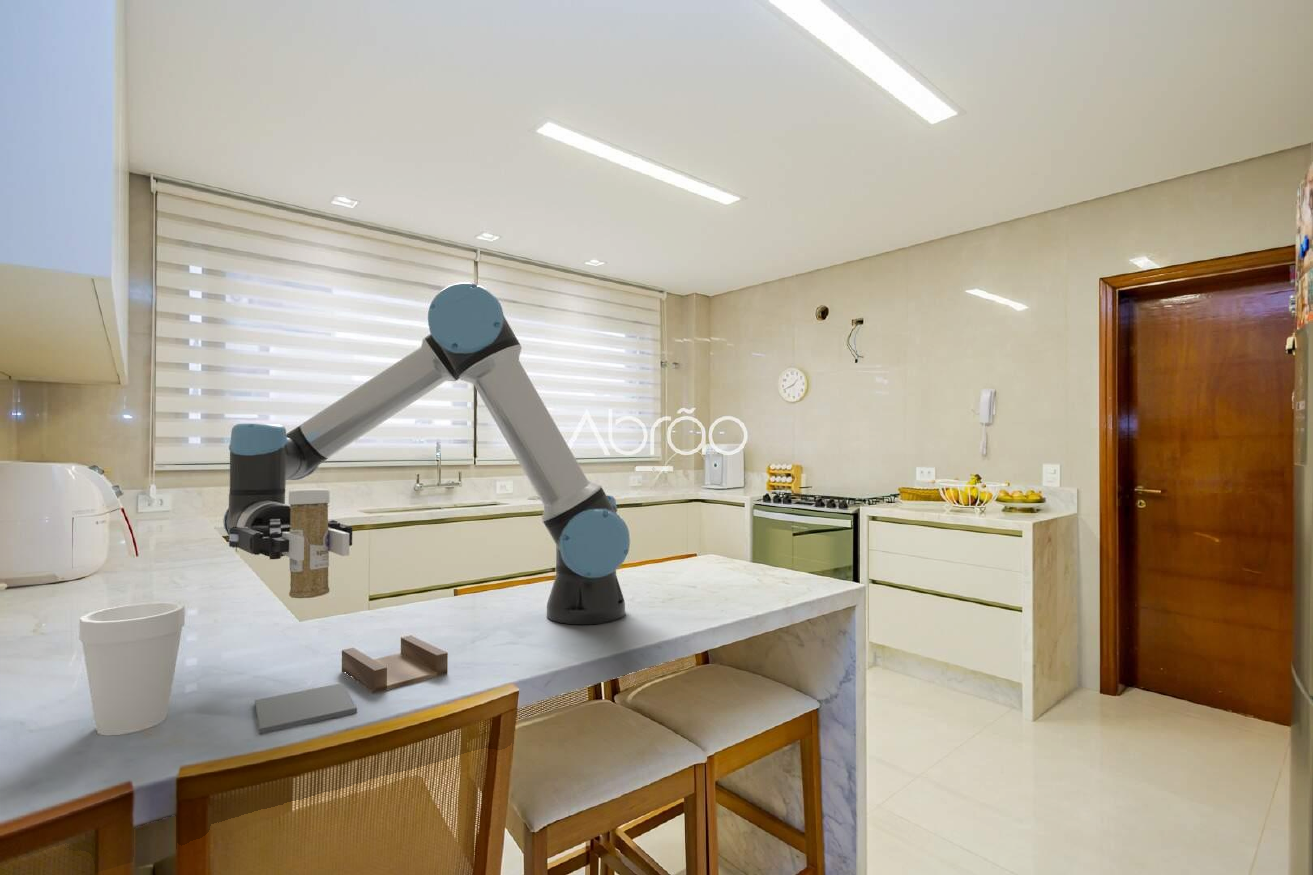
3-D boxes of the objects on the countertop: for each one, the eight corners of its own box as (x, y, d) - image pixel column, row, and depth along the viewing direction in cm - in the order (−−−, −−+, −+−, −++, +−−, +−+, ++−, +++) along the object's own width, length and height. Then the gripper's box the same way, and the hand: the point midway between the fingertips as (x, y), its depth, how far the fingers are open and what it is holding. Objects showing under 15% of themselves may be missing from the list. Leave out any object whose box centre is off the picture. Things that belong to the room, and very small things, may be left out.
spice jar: (330, 596, 78) (330, 488, 79) (288, 600, 76) (288, 489, 77) (328, 590, 82) (328, 488, 83) (288, 595, 80) (288, 489, 81)
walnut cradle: (410, 654, 98) (411, 635, 98) (447, 673, 90) (447, 652, 90) (341, 670, 91) (341, 650, 91) (374, 693, 82) (374, 670, 82)
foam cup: (70, 749, 67) (72, 627, 67) (83, 719, 74) (85, 609, 75) (182, 726, 73) (183, 613, 73) (184, 700, 80) (185, 598, 80)
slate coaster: (342, 687, 85) (342, 682, 85) (356, 712, 76) (356, 707, 76) (254, 704, 79) (255, 699, 79) (260, 733, 71) (260, 728, 71)
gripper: (336, 548, 98) (395, 568, 81) (200, 561, 86) (237, 588, 69) (336, 500, 98) (396, 510, 82) (201, 506, 86) (239, 520, 69)
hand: (323, 546), depth 76 cm, fingers closed on spice jar, 4 cm apart
